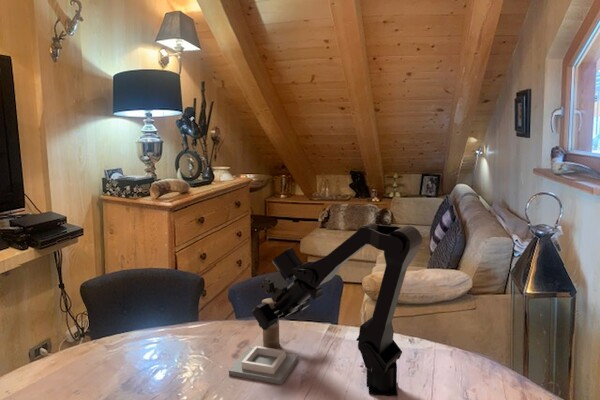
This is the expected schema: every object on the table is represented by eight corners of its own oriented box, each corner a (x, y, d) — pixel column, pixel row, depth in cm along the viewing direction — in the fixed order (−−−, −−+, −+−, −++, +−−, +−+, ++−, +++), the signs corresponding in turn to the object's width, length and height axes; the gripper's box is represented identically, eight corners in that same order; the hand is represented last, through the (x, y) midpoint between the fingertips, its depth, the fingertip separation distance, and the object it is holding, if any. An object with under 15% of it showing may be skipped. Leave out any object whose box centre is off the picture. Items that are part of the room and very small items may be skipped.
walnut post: (282, 344, 126) (281, 300, 124) (272, 350, 123) (270, 306, 121) (270, 339, 129) (269, 296, 127) (259, 345, 126) (258, 302, 123)
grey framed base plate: (297, 359, 118) (297, 348, 117) (281, 384, 107) (281, 373, 106) (249, 351, 122) (249, 341, 122) (229, 374, 111) (228, 363, 111)
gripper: (301, 259, 127) (273, 288, 135) (256, 277, 112) (227, 308, 121) (324, 291, 123) (294, 319, 132) (280, 315, 109) (249, 344, 117)
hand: (267, 321), depth 126 cm, fingers open, 6 cm apart
